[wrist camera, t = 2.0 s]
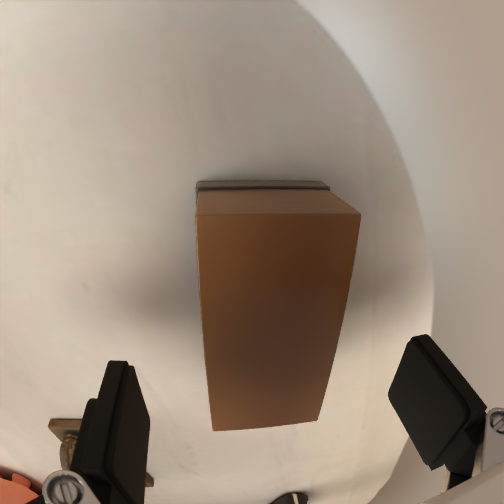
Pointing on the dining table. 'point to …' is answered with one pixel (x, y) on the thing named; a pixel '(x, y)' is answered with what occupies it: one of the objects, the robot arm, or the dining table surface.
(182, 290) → the dining table surface
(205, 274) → the eraser
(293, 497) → the battery charger
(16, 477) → the teapot
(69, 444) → the figurine
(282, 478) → the dining table surface
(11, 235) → the dining table surface
